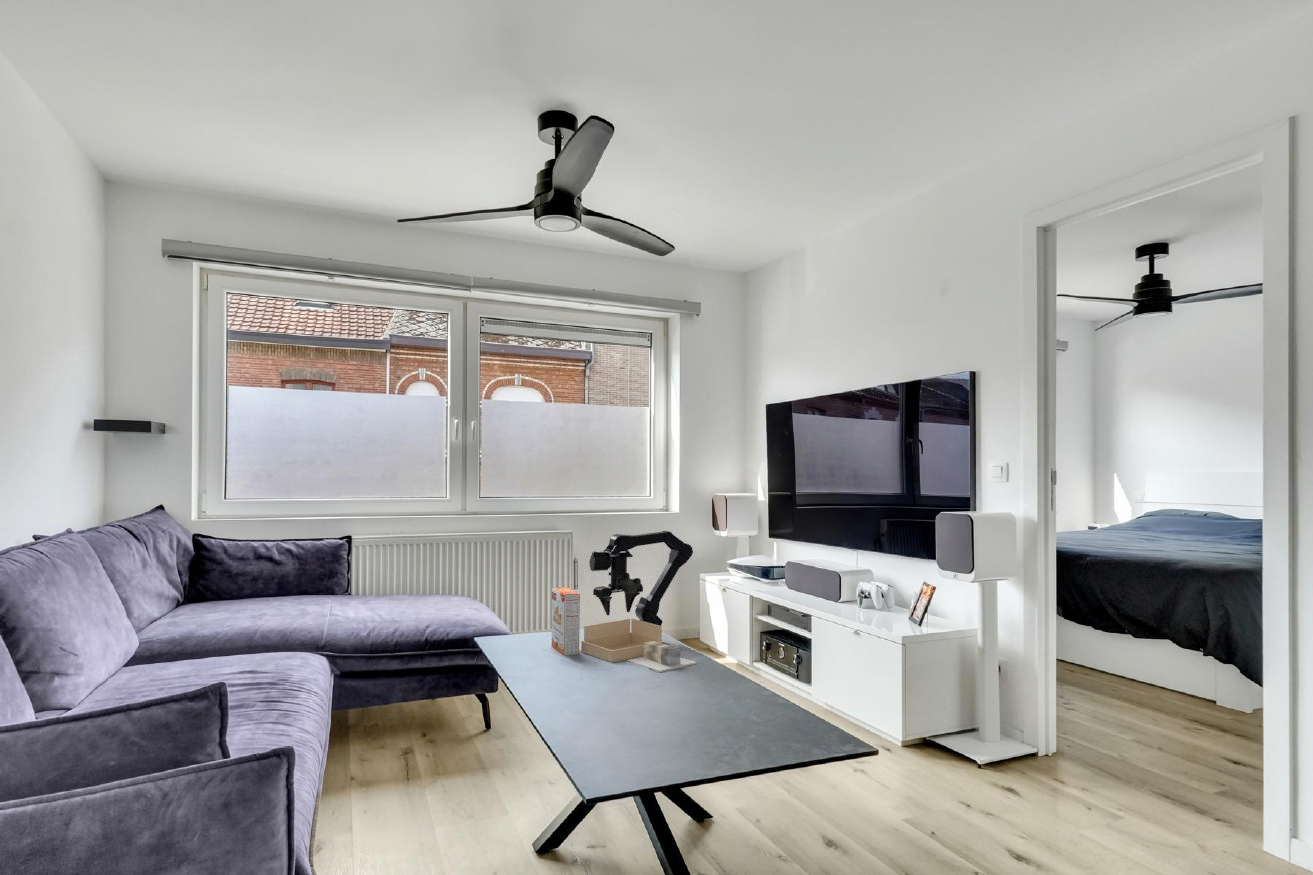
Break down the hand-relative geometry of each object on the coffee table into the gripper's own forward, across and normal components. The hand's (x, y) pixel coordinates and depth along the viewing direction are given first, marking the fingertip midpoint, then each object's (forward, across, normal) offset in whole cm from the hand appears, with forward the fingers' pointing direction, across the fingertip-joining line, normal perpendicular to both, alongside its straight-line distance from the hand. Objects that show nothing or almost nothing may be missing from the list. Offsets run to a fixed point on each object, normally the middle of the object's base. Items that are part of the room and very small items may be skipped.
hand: (618, 613), depth 270 cm
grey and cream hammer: (+10, -4, -28) cm, 30 cm away
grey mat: (+11, -4, -28) cm, 30 cm away
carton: (+11, -6, -10) cm, 16 cm away
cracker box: (+11, -20, +4) cm, 23 cm away
